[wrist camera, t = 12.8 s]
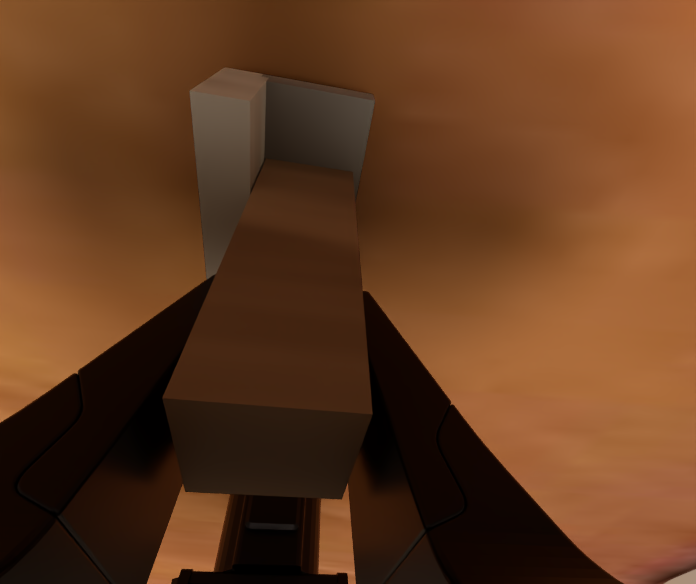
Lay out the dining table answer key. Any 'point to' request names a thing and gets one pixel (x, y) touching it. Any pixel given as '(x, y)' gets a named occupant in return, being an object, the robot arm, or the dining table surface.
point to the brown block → (275, 291)
